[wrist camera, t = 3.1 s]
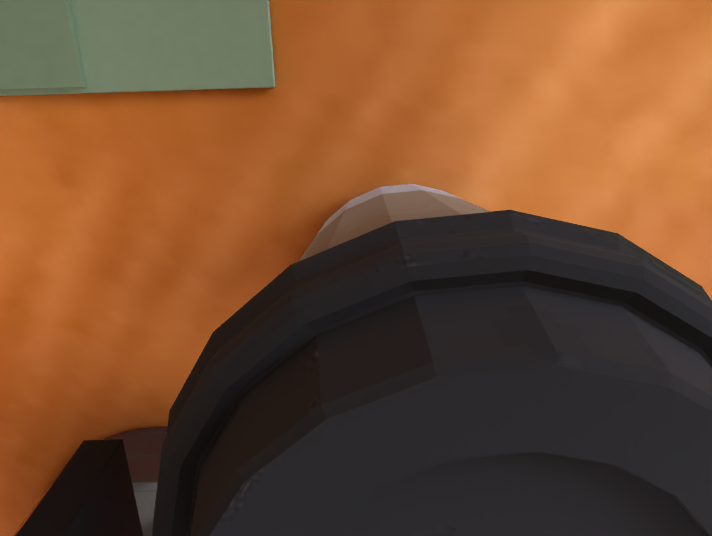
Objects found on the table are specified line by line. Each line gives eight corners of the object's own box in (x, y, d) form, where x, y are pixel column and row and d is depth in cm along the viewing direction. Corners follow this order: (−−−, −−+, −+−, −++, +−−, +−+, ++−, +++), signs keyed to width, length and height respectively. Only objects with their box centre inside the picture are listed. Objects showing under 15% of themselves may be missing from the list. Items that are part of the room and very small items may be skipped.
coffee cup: (226, 341, 23) (31, 780, 9) (317, 79, 19) (235, 104, 5) (464, 420, 24) (626, 895, 10) (590, 192, 21) (1103, 448, 7)
